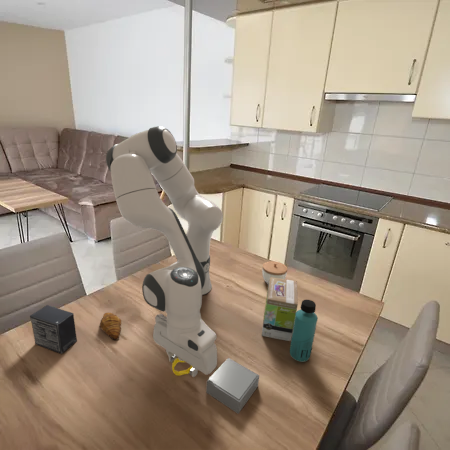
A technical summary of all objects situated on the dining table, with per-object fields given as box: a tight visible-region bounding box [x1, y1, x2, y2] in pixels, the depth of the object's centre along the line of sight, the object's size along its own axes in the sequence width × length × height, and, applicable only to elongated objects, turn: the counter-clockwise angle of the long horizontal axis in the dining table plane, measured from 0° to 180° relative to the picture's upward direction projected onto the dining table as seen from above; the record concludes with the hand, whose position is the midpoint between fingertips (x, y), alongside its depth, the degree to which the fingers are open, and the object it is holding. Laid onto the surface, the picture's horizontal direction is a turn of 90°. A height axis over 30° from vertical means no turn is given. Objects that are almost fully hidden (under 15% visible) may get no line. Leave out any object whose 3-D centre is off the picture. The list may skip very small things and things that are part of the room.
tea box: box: [261, 277, 299, 342], centre depth 105 cm, size 15×10×15 cm, turn 168°
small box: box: [29, 304, 78, 355], centre depth 91 cm, size 11×6×10 cm, turn 71°
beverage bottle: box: [289, 299, 318, 363], centre depth 90 cm, size 6×7×20 cm
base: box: [205, 357, 260, 415], centre depth 80 cm, size 10×10×4 cm
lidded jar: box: [261, 260, 288, 286], centre depth 132 cm, size 11×11×9 cm
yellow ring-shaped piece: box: [171, 357, 193, 377], centre depth 84 cm, size 6×3×6 cm, turn 109°
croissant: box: [99, 312, 122, 341], centre depth 100 cm, size 14×7×5 cm, turn 33°
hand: (183, 367), depth 85 cm, fingers open, 6 cm apart
